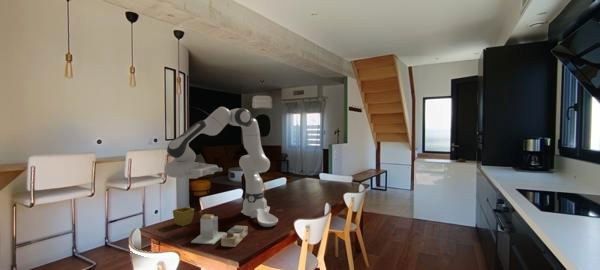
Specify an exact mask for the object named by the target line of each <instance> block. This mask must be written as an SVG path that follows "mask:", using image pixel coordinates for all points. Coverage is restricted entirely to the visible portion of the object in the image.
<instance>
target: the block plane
mask: <svg viewBox="0 0 600 270" xmlns="http://www.w3.org/2000/svg"><path fill="white" fill-rule="evenodd" d="M248 227H249V226H247V225H234V226H233V227H231V228H229V229H228V230H227V232H226V234H225V235H224V236H223V237H221V238H220V243H221V245H220V246H222V247H231V248H233V247H236V246H237V245H238V244H240V242H241V241H242V240H243V239H244V238H245V237H246V236H248V234H249V233H248V231H249V230H248V229H249V228H248Z"/></svg>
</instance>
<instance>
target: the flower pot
mask: <svg viewBox="0 0 600 270" xmlns="http://www.w3.org/2000/svg"><path fill="white" fill-rule="evenodd" d="M194 213H195V208H192V207H188V206H184V207H178V208H176V209H172V215H173V221H174V222H175V224H176V225H177V226H179V227H180V226H181V227H185V226H188V225H190V224H191V223H192V221H193V220H194V219H193V218H194V215H195V214H194Z"/></svg>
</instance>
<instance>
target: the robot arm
mask: <svg viewBox="0 0 600 270" xmlns="http://www.w3.org/2000/svg"><path fill="white" fill-rule="evenodd" d="M227 125H230V126H233V127H235V126H236V127H241V130H242V141H243V147H244V149H245V150H246V152H247V154H246V155H242V156H241V157H239V158H240V159H239V161H238V163H239V167H240V169H241V170H242V172H243V175H244V179H245V194H244V196H245V199H244V200H243V202H242V203H243V204H242V210H241V211H240V213H241V214H243V215H245V216H247V217H251V214H252V212H253V210H255V209H263V210H264V211H266V212H268V213H269V214H270V208H271V207H270V206H268V204H267V199H266V198H265V196H264V194H265V190H264V189H263V187H264V184H263V183H264V181H263V179H262V177H261V176H260V173H266V172H267V171H268V170H269V169H270V167H271V161H270V159H269V158H268V157H267V156H266V155H265V152H264V149H263V146H262V143H261V133H260V128H259V127H260V126H259V123H258V120H257V119H256V118H254V117H253V116H252V114H251V112H250V111H249V110H248V109H246V108H243V107H242V108H238V107H237V108H233V109H229V108H226V107H225V106H219V107H218V108H216V109H215V110H214V111H213V112H212V113H210V114H209V116H207V117H206V118H205V119H203V120H199V121H197V122H195V123H194V124H193V125H191V126H190V127H189V128H188V129H187V130H185V131H184V132H182V133H181V135H179V136H178V137H176V138H174V139H173V140H171V141H170V142H169V143H168V145H167V148H166V150H167V154H168V155H169V156H170V157H172V158H173V159H172V160H171V161H169V162H167V163H166V164H165V165H164V172H165V174H166V175H167V176H168V177H169V178H176V179H184V178H185V179H198V178H200V177H204V176H207V175H214V174H215V173H216V172H223V168H222V167H218V165H217V164H212V163H210V164H209V163H205V162H198V161H196V158H197V155H196V153H195V151H194V150H193V149H192V148H191V147H190V146H189V143H191V141H193V140H194V139H195V138H196V137H197V136H199V135H200V134H204V135H206V136H207V135H208V136H211V137H212V136H217V135H218V134H220V133H221V131H223V129H224V128H225V127H226V126H227ZM195 161H196V162H195Z"/></svg>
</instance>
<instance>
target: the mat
mask: <svg viewBox="0 0 600 270" xmlns="http://www.w3.org/2000/svg"><path fill="white" fill-rule="evenodd" d="M226 233H227V232H224V231H218V236H217V237H215V238H214V239H205V238H201V234H199V235H198V236H196V238H194V239H193V240H191V241H190V244H204V245H206V244H207V245H214V244H216V243H217V242H218V241H219V240H221V237H223V236H224V235H225V234H226Z"/></svg>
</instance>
